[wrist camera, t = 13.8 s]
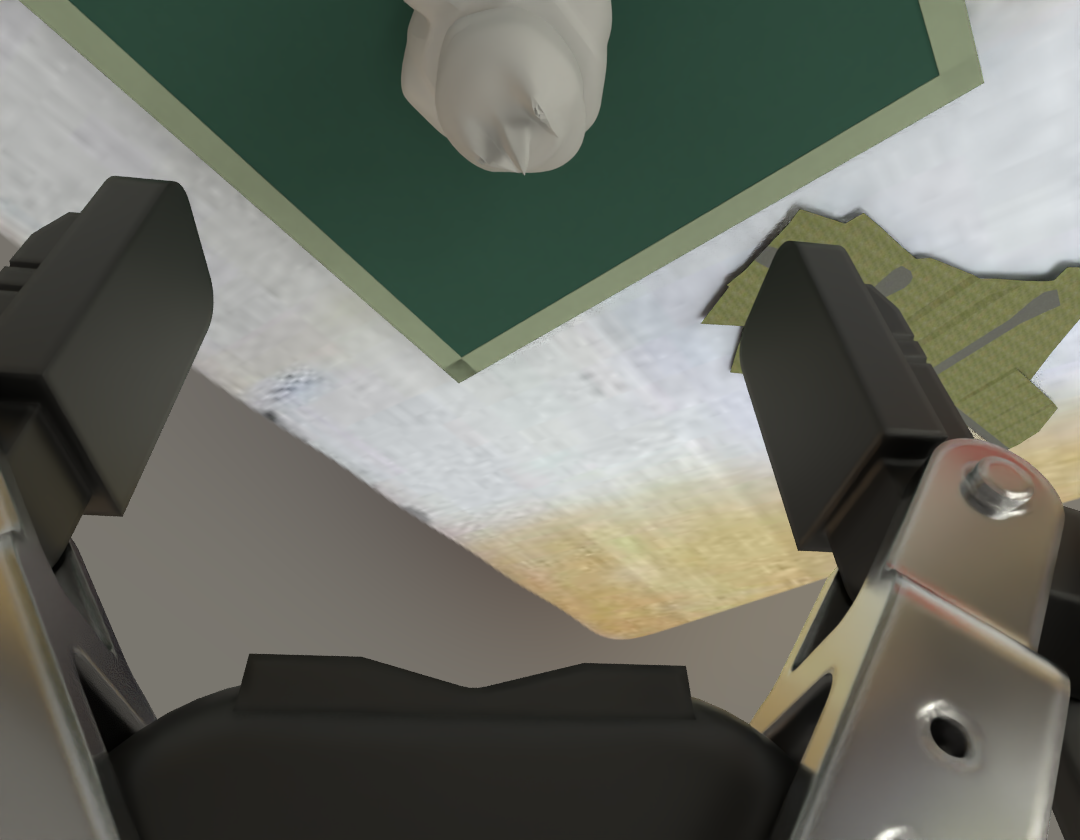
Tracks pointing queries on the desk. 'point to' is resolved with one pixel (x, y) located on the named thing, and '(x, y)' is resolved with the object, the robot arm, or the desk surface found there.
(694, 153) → the chalkboard
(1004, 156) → the desk surface
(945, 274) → the map
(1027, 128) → the desk surface
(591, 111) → the grey rounded figure
